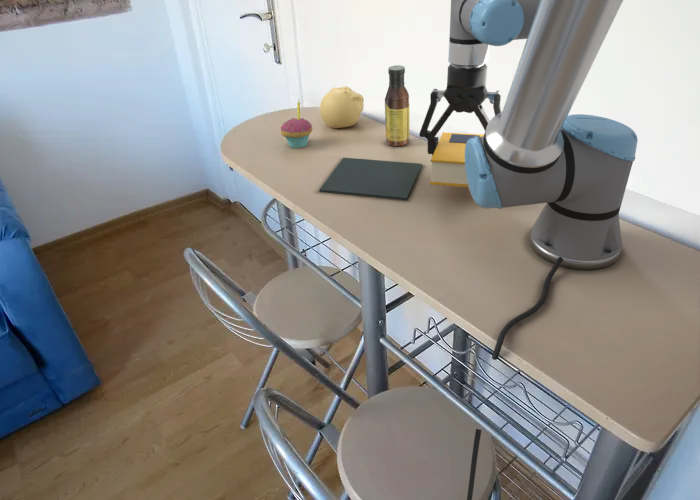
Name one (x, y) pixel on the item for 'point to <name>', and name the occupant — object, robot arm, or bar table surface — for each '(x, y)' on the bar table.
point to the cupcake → (296, 130)
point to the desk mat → (372, 178)
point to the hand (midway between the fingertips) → (460, 169)
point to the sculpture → (341, 107)
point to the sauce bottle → (397, 108)
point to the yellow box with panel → (450, 160)
